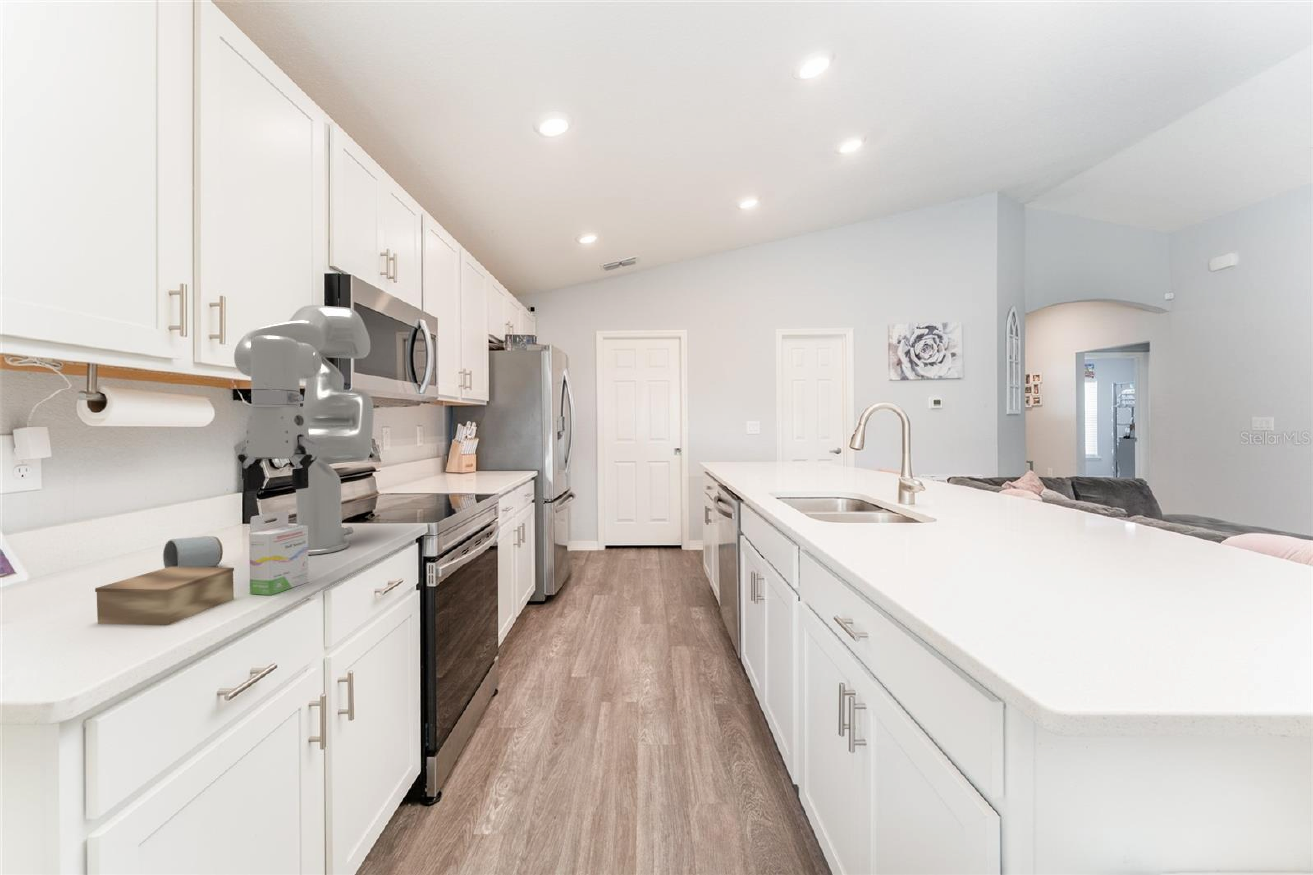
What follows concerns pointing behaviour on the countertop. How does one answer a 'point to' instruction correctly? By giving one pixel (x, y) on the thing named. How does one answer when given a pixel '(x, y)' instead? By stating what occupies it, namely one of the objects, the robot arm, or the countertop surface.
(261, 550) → the ink box
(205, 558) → the ceramic mug
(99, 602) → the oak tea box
